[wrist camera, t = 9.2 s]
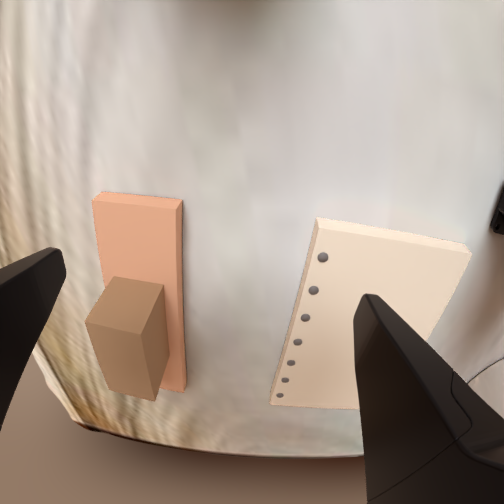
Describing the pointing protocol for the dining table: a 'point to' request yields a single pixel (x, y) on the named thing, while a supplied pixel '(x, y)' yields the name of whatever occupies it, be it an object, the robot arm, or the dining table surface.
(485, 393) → the utensil holder
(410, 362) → the robot arm
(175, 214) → the stub
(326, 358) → the board
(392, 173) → the dining table surface
